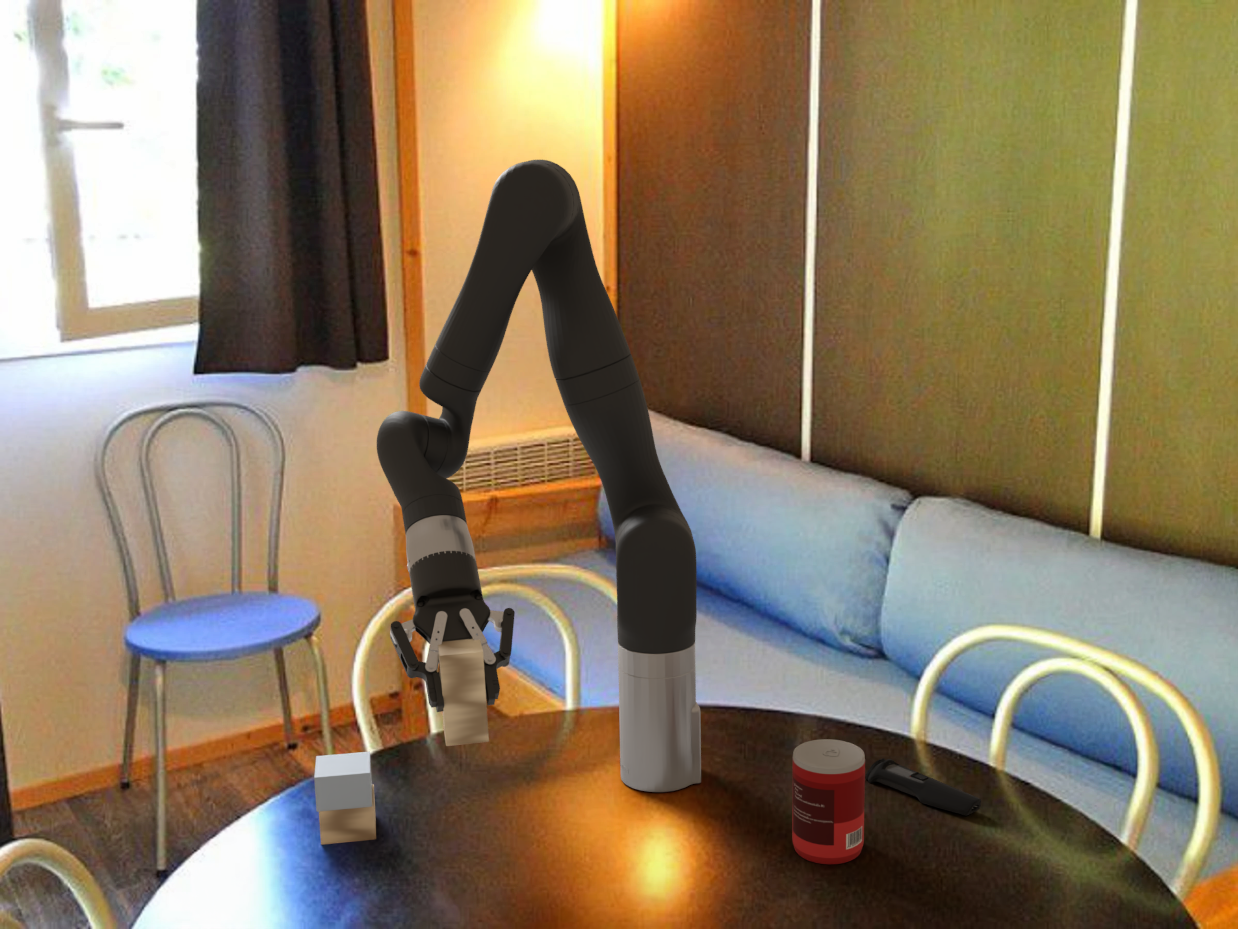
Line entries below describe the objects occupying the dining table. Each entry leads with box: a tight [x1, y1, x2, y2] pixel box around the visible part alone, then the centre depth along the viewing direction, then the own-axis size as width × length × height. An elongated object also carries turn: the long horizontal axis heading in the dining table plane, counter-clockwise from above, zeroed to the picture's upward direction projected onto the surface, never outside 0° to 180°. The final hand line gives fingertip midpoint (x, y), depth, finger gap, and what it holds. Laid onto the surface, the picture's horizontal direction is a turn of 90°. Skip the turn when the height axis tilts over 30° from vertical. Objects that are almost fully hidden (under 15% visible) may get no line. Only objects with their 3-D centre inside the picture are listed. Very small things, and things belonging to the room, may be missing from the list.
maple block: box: [438, 639, 490, 747], centre depth 151 cm, size 4×4×10 cm
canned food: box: [791, 738, 866, 865], centre depth 152 cm, size 8×8×11 cm
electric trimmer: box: [865, 758, 982, 816], centre depth 165 cm, size 4×16×3 cm, turn 38°
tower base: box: [318, 783, 377, 845], centre depth 160 cm, size 6×6×4 cm
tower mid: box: [313, 751, 373, 813], centre depth 159 cm, size 6×6×4 cm
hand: (466, 704), depth 149 cm, fingers closed on maple block, 4 cm apart
